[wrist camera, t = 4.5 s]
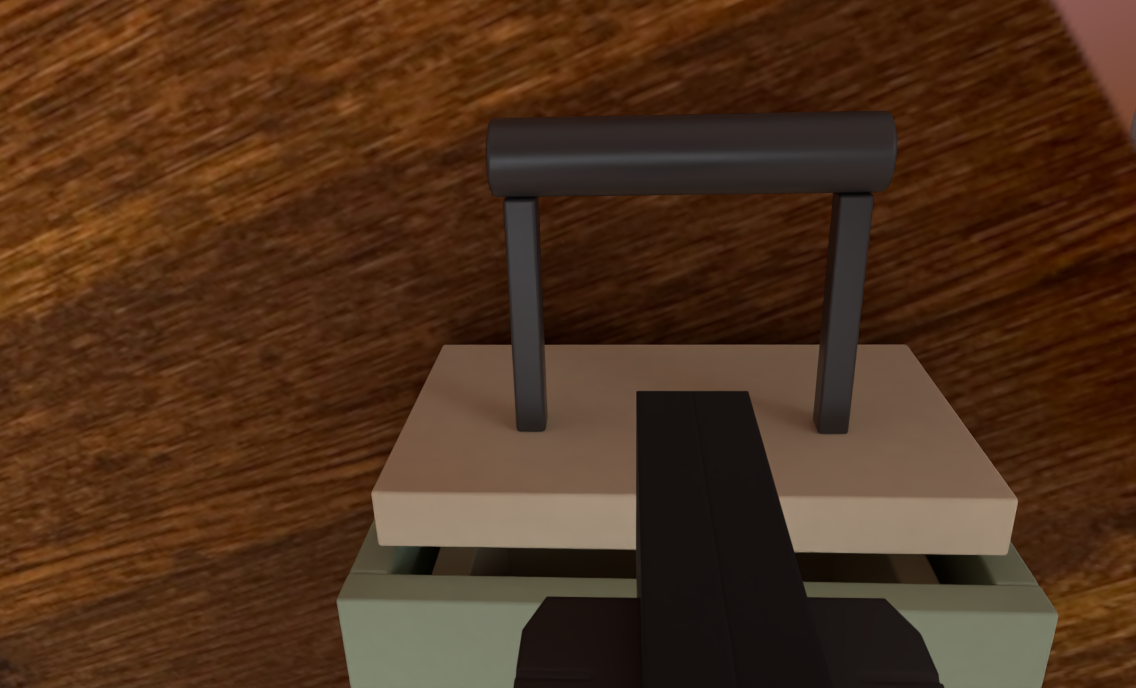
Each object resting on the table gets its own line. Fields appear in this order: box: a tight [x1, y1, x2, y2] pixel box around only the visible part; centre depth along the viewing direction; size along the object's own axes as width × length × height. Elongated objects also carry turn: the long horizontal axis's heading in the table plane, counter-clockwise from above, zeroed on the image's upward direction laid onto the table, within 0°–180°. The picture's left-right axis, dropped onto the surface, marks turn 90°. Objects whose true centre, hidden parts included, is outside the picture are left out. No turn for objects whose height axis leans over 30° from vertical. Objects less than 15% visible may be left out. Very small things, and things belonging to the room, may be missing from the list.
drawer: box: [371, 111, 1018, 584], centre depth 20 cm, size 20×11×7 cm, turn 2°
